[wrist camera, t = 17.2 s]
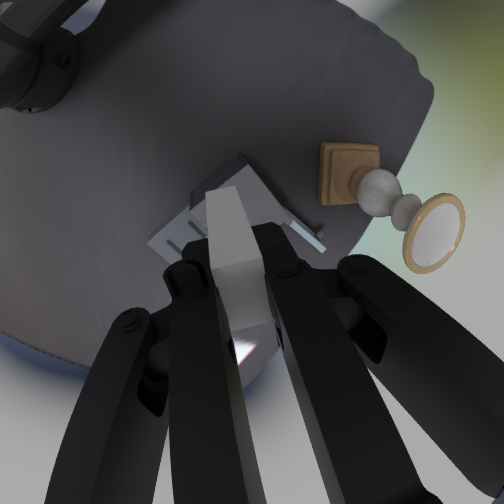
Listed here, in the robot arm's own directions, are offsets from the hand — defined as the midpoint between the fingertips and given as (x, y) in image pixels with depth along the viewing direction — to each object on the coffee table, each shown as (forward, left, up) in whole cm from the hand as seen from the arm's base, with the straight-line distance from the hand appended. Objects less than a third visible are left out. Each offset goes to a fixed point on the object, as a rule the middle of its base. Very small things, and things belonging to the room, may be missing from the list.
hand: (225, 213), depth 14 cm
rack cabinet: (+10, -3, -29) cm, 31 cm away
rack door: (+20, +3, -29) cm, 35 cm away
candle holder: (+19, +15, -30) cm, 38 cm away
